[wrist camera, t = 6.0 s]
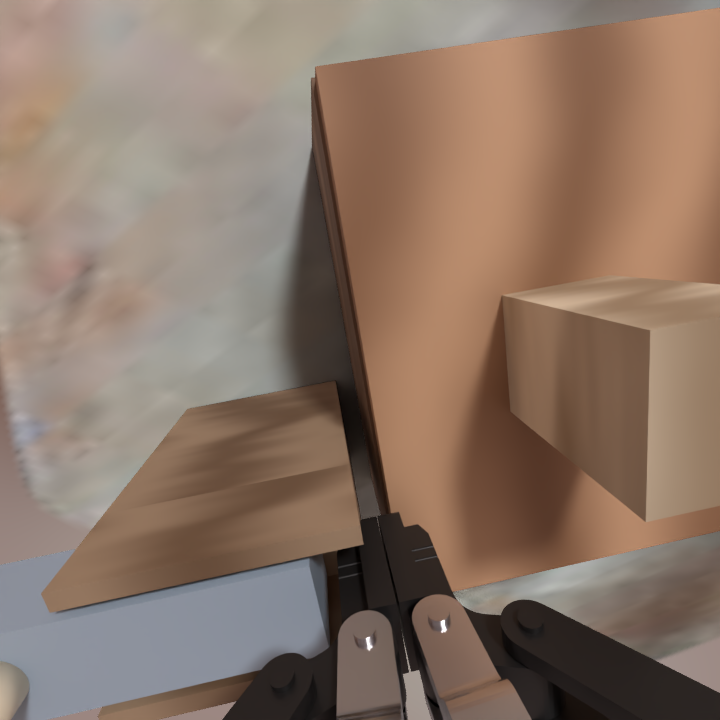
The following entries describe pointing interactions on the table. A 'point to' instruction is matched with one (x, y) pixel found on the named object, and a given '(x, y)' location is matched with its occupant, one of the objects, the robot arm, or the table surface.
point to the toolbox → (235, 494)
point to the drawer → (150, 635)
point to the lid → (538, 287)
